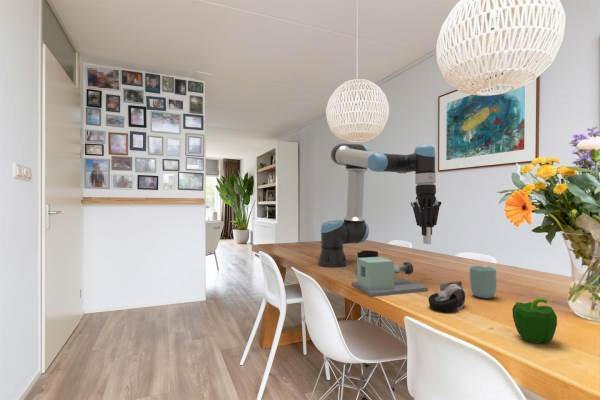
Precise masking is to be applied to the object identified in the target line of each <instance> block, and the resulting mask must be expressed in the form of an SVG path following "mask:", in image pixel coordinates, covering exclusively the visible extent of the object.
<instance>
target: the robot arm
mask: <svg viewBox="0 0 600 400" xmlns="http://www.w3.org/2000/svg"><path fill="white" fill-rule="evenodd" d="M435 152H436V151H435V147H434V146H433V145H431V144H430V145H429V144H426V145H425V144H424V145H418V146H415V148H414V152H413V153H410V154H400V153H399V154H397V153H396V154H394V153H386V152H385V153H383V152H376V151H372V149H371V148H370V147H369V146H367V145H365V144H360V143H359V144H356V143H339V144H336V145H334V147H333V148H332V149H331V152H330V157H331V160H332V162H333V163H334V164H336V165H338V166H344V167H345V170H346V171H347V173H348V175H347V176H348V177H347V178H348V179H347V201H346V216H344V218H343V220H341V219H336V220H335V219H334V220H328V221H324V222H322V224H321V225H320V226H321V228H320V235H321V236H320V239H321V240H320V243H321V244H320V245H321V251H320V254H319V257H318V261H317V262H318V266H320V267H324V268H325V267H327V268H338V267H339V268H341V267H345V266H347V262H348V260H347V257H346V255H345V251H344V245H348V244H359V243H364V242H365V241H366V240H367V239H368V238H369V233H370V227H369V225H368V223H367V222H366V218H365V217H364V216H363V211H364V207H363V206H364V189H365V188H364V187H365V173H366V172H367V171H368V169H369V171H372V172H375V173H376V172H377V173H381V172H383V173H387V172H389V173H396V174H407V173H412V172H414V174H415V175H414V176H415V177H414V178H415V184H416V186H415V194H416V197H415V199H414V201H411V202H410V206H411V207H412V209H413V214H414V217H415V218H414V219H415V222H416V226H418V227H420V228H421V235H422V236H423V237H422V238H423V240H422V242H423V244H425V245H431V244H432V236H433V228H434V227H435V226H437V225H438V224H437V223H438V217H439V214H440V213H439V211H440V207H441V206H442V202H441V201H439V200H437V197H436V193H437V186H436V183H437V182H436V181H437V180H436V177H437V176H436V153H435Z"/></svg>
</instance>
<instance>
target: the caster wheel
mask: <svg viewBox="0 0 600 400" xmlns="http://www.w3.org/2000/svg"><path fill="white" fill-rule="evenodd" d="M438 288H439V290H438V291H436V293H432V294H431V295H429V297H428V304H429V305H428V306H429V307H430V309H431V310H432V311H435V312H439V313H449V312H452V311H460V310H461V309H462V308H463V307H464V305H465V304H466V303H465V301H466V292H465V291H464V287H463V284H462V281H461V280H458V281H451V282H445V283H439V284H438Z"/></svg>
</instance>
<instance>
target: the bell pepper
mask: <svg viewBox="0 0 600 400" xmlns="http://www.w3.org/2000/svg"><path fill="white" fill-rule="evenodd" d="M548 301H549V300H548V299H547V298H543V297H538V298H535V299H533V300H532V301H528V302H526V303H525V302H524V303H523V302H515V304H514V305H513V307H512V309H511V310H512V318H513V322H514V326H515V328H516V331H517V333H518V335H519V336H520V337H521V339H522V340H524V341H526V342H529V343H533V344H541V343H547V344H548V343H551V342H552V341H553V339H554V336H555V333H556V329H557V326H558V316H557V314H556V312H555V311H554V309H553V307H552V306H549V305H539V303H544V304H547V303H548Z"/></svg>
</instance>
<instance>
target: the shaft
mask: <svg viewBox="0 0 600 400" xmlns="http://www.w3.org/2000/svg"><path fill="white" fill-rule="evenodd" d="M413 272H414V266H413V264H412V262H410V261H405V262H404V263H402V264H394V274H400V273H401V274H402V273H404V274H405V275H412V274H413Z"/></svg>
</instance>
